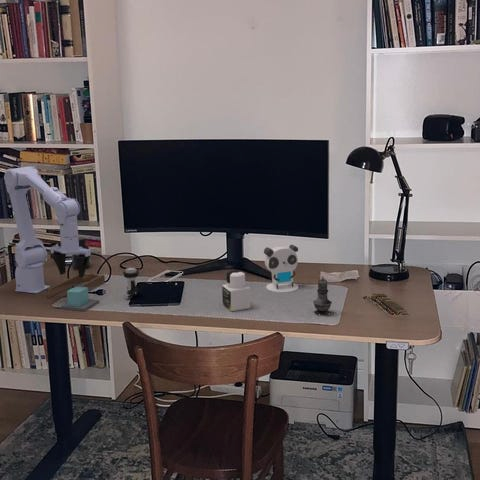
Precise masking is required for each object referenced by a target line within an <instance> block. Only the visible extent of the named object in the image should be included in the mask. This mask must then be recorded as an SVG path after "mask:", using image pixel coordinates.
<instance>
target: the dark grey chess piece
mask: <svg viewBox="0 0 480 480" xmlns="http://www.w3.org/2000/svg"><path fill="white" fill-rule="evenodd" d="M316 292H317V298H316V299H315V300H313V305H314V308H315V309H316V310H315V311H313V314H314V313H315V314H314V315H316V314H318V315H317V316H319V314H320V315H327V316H329V315H328V314H329V313H331V311H330V309H331V305H332V303H333V302H332V300H330V299H329V298H328V292H329V289H328V281H327V280H326V279H325V278H324V276H322V277H321V279H319V280H318V281H317V289H316ZM331 314H332V313H331Z"/></svg>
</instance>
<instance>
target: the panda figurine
mask: <svg viewBox="0 0 480 480" xmlns="http://www.w3.org/2000/svg"><path fill="white" fill-rule="evenodd" d="M297 252H299V247H298V246H296V245H294V244H290V245H289V247H288V246H284V245H282V246H281V245H280V246H275V247H273V248H270V247H265V248H264V250H263V254H265V258H264V265H265V268H266V269H267V270H268V271H269V272H271V281H272V283H271V282H270V283H268V284H267V285H266V289H267V291H269V292H274V293H283V294H284V293H286V294H287V293H292V292H295V291H297V290H298V289H299V285H298V284H296V283H294V277H295V276H296V272H295V271H296V268H297V266H298V261H299V258H298V256H297Z"/></svg>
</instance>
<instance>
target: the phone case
mask: <svg viewBox="0 0 480 480" xmlns="http://www.w3.org/2000/svg"><path fill="white" fill-rule="evenodd" d="M169 272H170V273H171V272H175V273H178V274H177V275H175V276H172V277H170V279H167V280H166V281H165V282H168V281H170V282H172V281H174V280H176V279H177V278H179V277H181V276H183V275H184V271H178V270H169V269H167V270H164V271H163V272H161V273H159V274H156V275H155V276H153V277H150V278H149V279H148V280H147V283H148V282H158V281H157V280H156V281H155V280H153V279H158V278H159V277H161V276H163V275H165V274H167V273H169ZM180 272H182V273H180ZM182 274H183V275H182Z"/></svg>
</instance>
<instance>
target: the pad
mask: <svg viewBox="0 0 480 480" xmlns="http://www.w3.org/2000/svg"><path fill="white" fill-rule="evenodd" d="M99 303H100V299H94V298H93V299H92V298H89V302H88V303H86V304H84V305H82V306H81V307H76V306H68V301H67V302H65V303H63V304H61V305H60V309H61V310H68V311H77V312H86V311H88V310H89V309H92V308H93V307H95V306H97V305H98V304H99Z"/></svg>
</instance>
